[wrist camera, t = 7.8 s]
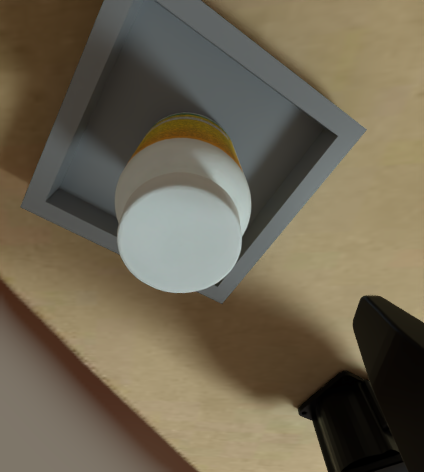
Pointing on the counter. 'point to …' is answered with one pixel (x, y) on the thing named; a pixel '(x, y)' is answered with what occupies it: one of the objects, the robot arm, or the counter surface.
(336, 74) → the counter surface
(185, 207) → the supplement bottle
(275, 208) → the tray
